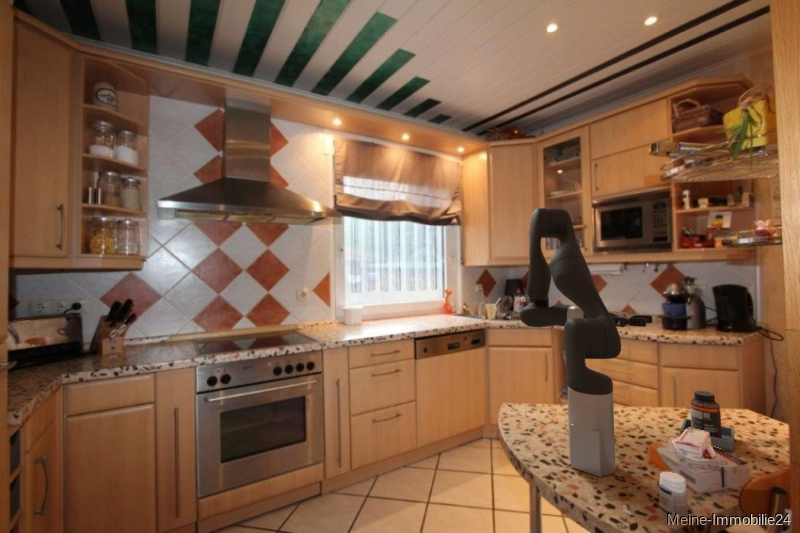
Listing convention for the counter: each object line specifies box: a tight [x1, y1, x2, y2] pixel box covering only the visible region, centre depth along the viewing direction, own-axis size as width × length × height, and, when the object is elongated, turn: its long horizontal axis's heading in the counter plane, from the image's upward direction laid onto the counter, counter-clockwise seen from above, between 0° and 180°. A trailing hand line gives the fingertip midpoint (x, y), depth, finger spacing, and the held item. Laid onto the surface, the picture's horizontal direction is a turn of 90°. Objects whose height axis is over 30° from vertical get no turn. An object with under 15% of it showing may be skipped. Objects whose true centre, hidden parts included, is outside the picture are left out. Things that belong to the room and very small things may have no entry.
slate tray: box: [679, 418, 735, 453], centre depth 92 cm, size 10×10×2 cm
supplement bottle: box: [689, 390, 722, 439], centre depth 92 cm, size 6×6×11 cm
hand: (649, 321), depth 98 cm, fingers open, 8 cm apart
